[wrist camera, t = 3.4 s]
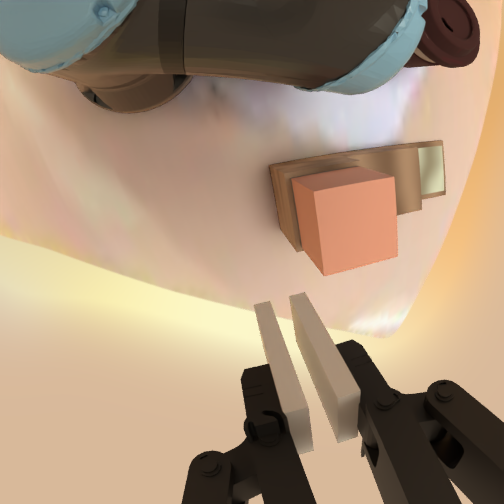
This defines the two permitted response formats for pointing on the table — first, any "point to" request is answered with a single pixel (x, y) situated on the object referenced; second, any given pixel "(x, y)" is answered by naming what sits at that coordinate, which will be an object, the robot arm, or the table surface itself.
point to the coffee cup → (447, 35)
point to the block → (346, 217)
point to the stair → (378, 159)
